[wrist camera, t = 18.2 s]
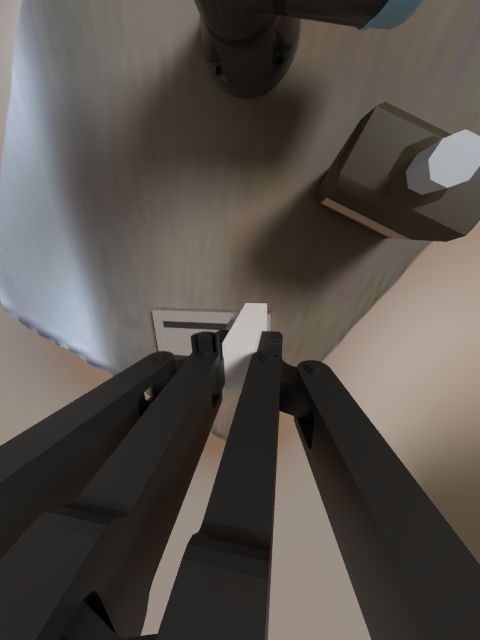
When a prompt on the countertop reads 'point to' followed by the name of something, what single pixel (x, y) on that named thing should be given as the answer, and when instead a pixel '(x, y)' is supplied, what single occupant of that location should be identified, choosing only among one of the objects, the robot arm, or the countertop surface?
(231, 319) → the black fader
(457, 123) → the countertop surface
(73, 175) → the countertop surface
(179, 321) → the panel
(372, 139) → the bottle
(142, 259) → the countertop surface
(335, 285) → the countertop surface
